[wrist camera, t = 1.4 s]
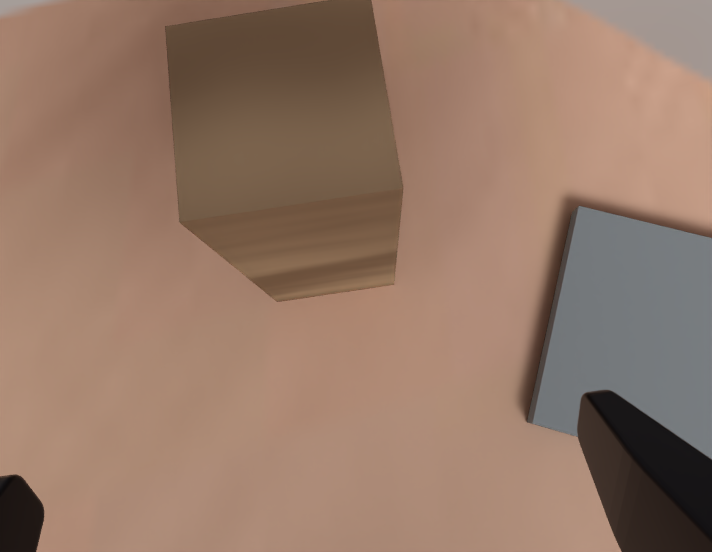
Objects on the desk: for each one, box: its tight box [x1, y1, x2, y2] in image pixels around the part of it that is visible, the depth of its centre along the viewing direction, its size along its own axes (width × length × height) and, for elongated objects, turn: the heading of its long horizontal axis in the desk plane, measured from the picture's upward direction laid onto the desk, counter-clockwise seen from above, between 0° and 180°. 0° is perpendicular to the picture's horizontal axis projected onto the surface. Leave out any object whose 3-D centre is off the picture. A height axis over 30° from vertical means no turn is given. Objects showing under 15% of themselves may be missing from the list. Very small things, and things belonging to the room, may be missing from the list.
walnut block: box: [165, 0, 403, 302], centre depth 18 cm, size 5×5×11 cm
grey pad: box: [527, 206, 712, 459], centre depth 21 cm, size 9×9×1 cm
